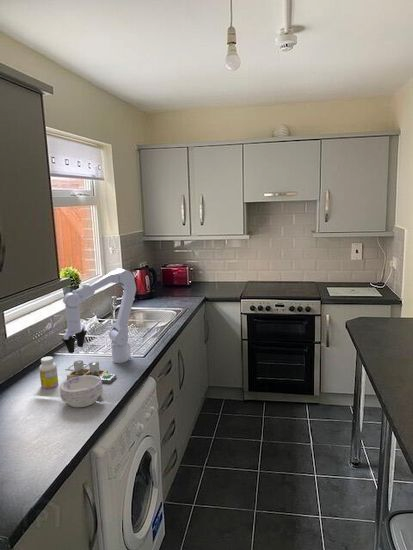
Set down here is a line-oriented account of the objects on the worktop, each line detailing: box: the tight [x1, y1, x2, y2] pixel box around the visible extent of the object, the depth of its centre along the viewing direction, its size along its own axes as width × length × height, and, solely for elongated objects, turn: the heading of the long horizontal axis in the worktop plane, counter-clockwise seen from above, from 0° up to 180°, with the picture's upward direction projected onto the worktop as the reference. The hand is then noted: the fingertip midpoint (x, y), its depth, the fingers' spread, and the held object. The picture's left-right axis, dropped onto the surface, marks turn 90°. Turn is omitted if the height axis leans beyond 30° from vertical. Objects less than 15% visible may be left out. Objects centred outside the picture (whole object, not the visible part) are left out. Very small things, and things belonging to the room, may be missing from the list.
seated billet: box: [88, 361, 101, 377], centre depth 184 cm, size 4×4×6 cm
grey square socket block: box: [100, 373, 117, 384], centre depth 180 cm, size 6×6×2 cm
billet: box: [73, 360, 85, 376], centre depth 186 cm, size 4×4×6 cm
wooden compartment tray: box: [66, 368, 109, 380], centre depth 185 cm, size 8×15×2 cm, turn 76°
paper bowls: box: [59, 375, 103, 408], centre depth 163 cm, size 15×15×8 cm
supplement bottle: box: [39, 356, 59, 390], centre depth 176 cm, size 7×7×13 cm
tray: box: [65, 362, 90, 371], centre depth 196 cm, size 8×8×1 cm
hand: (76, 349), depth 191 cm, fingers open, 7 cm apart
